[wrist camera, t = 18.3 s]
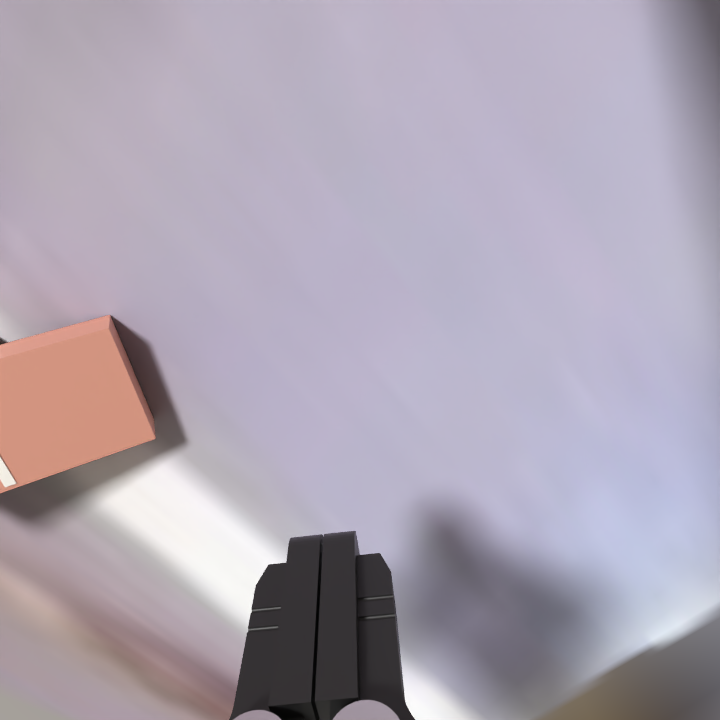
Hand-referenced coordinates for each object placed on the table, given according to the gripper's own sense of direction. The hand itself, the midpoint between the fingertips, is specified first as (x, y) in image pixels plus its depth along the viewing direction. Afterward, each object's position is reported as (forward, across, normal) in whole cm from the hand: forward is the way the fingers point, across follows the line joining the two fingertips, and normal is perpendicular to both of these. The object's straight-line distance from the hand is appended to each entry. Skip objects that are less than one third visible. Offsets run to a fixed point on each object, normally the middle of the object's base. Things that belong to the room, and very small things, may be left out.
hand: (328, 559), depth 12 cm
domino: (+10, +8, 0) cm, 13 cm away
